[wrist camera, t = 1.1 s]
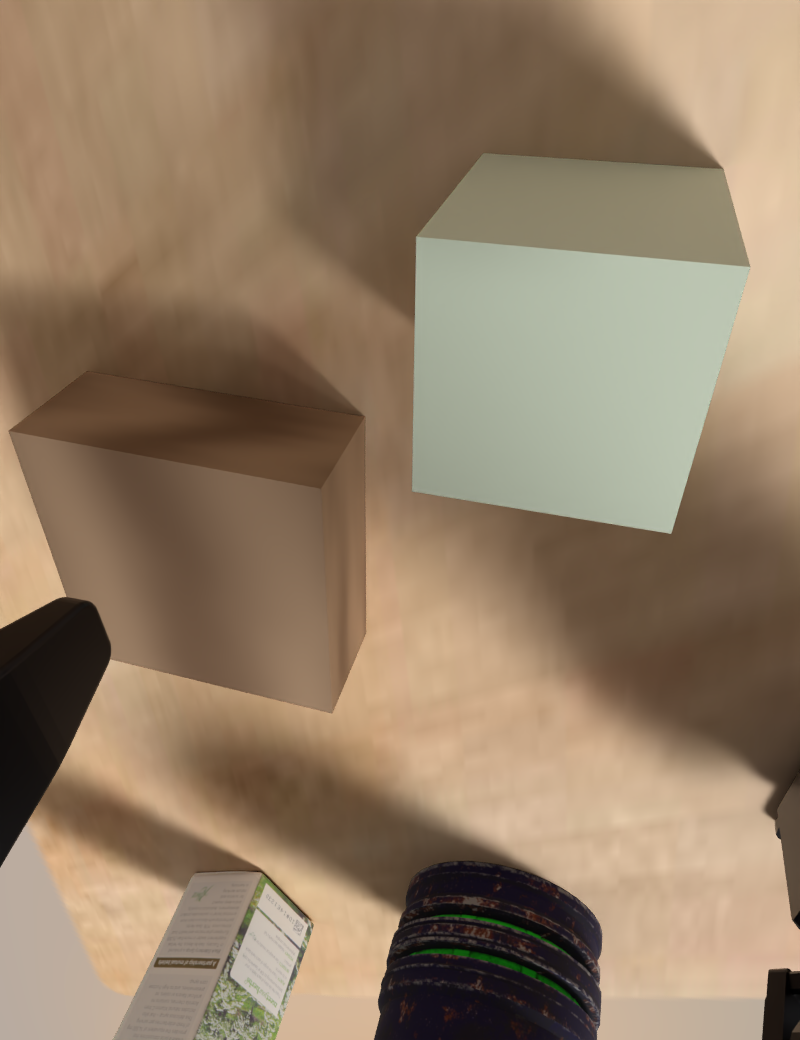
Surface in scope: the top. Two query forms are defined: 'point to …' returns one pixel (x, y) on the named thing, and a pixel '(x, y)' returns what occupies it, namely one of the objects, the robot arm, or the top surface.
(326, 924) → the top surface
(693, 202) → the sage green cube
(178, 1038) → the syrup box
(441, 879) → the storage jar
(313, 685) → the block
